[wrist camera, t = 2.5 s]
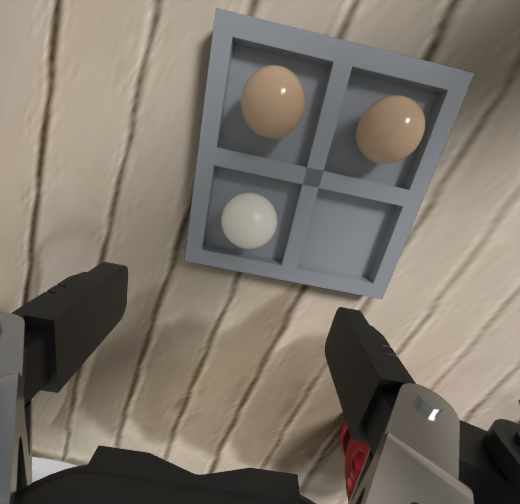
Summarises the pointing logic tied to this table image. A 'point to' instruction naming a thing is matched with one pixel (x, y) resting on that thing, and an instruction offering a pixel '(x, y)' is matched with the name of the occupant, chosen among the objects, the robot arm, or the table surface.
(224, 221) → the pale egg
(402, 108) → the brown egg
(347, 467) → the plant pot
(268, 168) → the egg tray
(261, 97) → the brown egg
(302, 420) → the table surface
